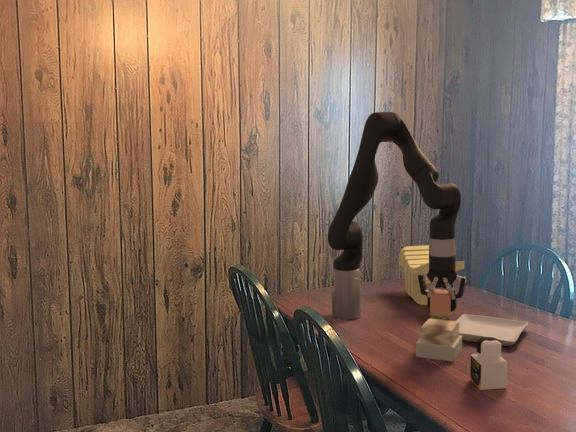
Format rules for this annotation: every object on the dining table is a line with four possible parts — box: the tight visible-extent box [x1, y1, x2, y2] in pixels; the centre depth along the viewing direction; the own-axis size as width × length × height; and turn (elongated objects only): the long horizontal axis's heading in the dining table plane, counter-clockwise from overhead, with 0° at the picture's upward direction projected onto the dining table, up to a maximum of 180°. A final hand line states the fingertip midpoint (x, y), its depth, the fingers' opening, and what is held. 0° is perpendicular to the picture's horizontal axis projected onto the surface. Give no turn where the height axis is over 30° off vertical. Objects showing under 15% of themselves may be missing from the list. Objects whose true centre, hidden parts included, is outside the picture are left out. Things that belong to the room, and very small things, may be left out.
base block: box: [415, 335, 463, 363], centre depth 194 cm, size 11×11×4 cm
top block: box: [420, 318, 459, 346], centre depth 193 cm, size 9×9×4 cm
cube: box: [429, 289, 453, 317], centre depth 192 cm, size 6×6×6 cm
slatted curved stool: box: [398, 244, 465, 306], centre depth 248 cm, size 30×16×18 cm, turn 4°
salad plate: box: [455, 313, 529, 347], centre depth 208 cm, size 21×21×3 cm
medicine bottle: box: [470, 337, 509, 391], centre depth 170 cm, size 7×7×12 cm
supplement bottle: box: [429, 288, 447, 320], centre depth 226 cm, size 5×5×10 cm
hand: (441, 309), depth 192 cm, fingers closed on cube, 5 cm apart
